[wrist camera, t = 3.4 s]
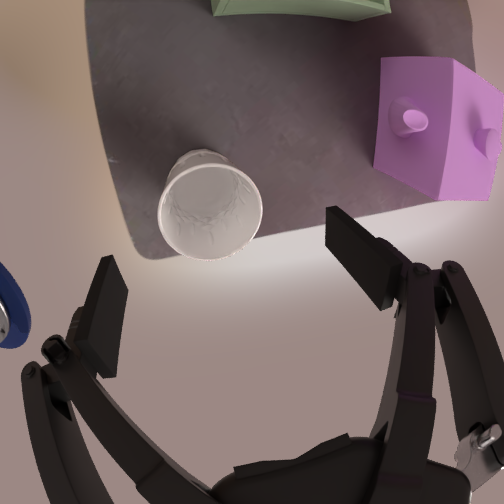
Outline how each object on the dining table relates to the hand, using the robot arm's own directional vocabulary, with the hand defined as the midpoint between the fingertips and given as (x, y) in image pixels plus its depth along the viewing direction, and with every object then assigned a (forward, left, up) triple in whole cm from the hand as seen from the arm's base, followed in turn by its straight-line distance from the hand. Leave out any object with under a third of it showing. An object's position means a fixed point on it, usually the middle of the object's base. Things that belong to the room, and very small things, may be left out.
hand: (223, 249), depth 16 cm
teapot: (+28, +5, -15) cm, 32 cm away
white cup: (0, 0, -15) cm, 15 cm away
